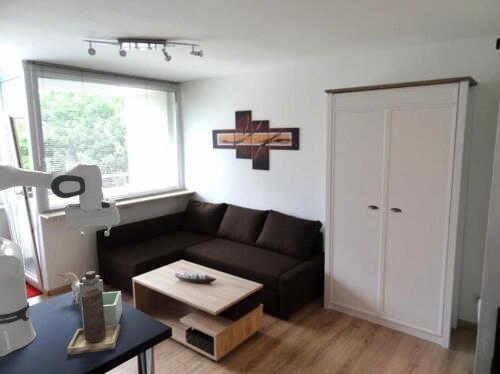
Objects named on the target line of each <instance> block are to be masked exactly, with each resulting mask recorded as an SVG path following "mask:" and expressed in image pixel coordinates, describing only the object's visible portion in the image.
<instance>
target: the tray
mask: <svg viewBox="0 0 500 374" xmlns="http://www.w3.org/2000/svg"><path fill="white" fill-rule="evenodd" d="M105 328H106V337H105V338H104V339H102V340H100V341H96V342H88V341H86V340H85V331H84V328H83V327H82V328H77V329H76V331H75V333H74V335H73V336H72V339H71V340H70V342H69V344H68V346H67V349H66V353H67V356H69V355H71V356H72V355H77V354H78V355H79V354H87V353H94V352H95V353H96V352H103V351H111V350H115V349H116V344H117V342H118V337H119V334H120V332H121V324H120V323H118V324H117V325H108V326H105Z"/></svg>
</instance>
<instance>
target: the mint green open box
mask: <svg viewBox="0 0 500 374" xmlns="http://www.w3.org/2000/svg"><path fill="white" fill-rule="evenodd" d="M102 296H103V307H104V318H105V326H108V325H117V324H120V320H121V316H122V314H123V303H122V291H121V290H118V291H108V292H107V291H106V292H103V293H102ZM81 319H82V328H84V318H83V307H82V309H81Z"/></svg>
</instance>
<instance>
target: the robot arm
mask: <svg viewBox="0 0 500 374" xmlns="http://www.w3.org/2000/svg"><path fill="white" fill-rule="evenodd" d="M102 176H103V175H102V172H101V169H100V167H99V166H98V165H96V164H94V163H93V164H92V163H88V162H87V163H86V162H82V163H78V164H77V165H76V166H74V167H73V168H70V169H68V170H66V169H62V170H57V171H52V172H47V171H40V170H31V169H23V168H19V167H16V166H13V165H11V164H8V163H4V162H0V191H5V190H9V189H11V188H17V187H32V188H33V187H34V188H41V189H48V190H51V192H52V193H53V195H55V196H56V197H58V198H60V199H70V198H73V197H77V196H78V200H79V203H71V204H70V203H69V204H68V205H65V207H64V213H65V227H66V228H69V229H70V228H75V230H76V232H77V233H78V234H79V238H81V239H82V238H85V236H86V235H85V234H86V232H85V231H83V230H82V228H86V227H105V226H106V228H107V230H105V231H104V237H109V236H110V230H112V229H111V228H112V226H117V225H119V224H120V222H121V215H120V211H119V208H118V207H117V206H116V204H117V201H116V200H115V199H111V198H107V197H104V192H103V189H102V188H103V177H102ZM27 293H28V292H27V286H26V274H25V261H24V256H23V253H22V249H21V247H20V246H19V244H17V242H14V241H13V240H10V239H8V238H5V237H3V236H2V235H0V357H4V356H6V355H8V354H10V353H12V352H14V351H16V350H18V349H21V348H24V347H26V346H27V345H29V344H30V343H32V342H34V340H35V339H36V337H37V333H36V331H35V328H34V327H33V324H32V323H33V322H32V320H31V308H30V302H29V301H28V294H27Z"/></svg>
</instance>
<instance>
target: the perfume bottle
mask: <svg viewBox="0 0 500 374" xmlns="http://www.w3.org/2000/svg"><path fill="white" fill-rule="evenodd" d="M100 278H101V275H98V274H97V271H94V270H93V271H92V270H88V271H87V272H86V273H84V277H82V278H81V282H80V283H81V284H79V286H80V298H81V304H80V307H81V310H82V294H83V293H84V292H85V291H86V290H88V289H95V288H101V289H102V293H104V282H103V279H100ZM80 298H79V299H80Z"/></svg>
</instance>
